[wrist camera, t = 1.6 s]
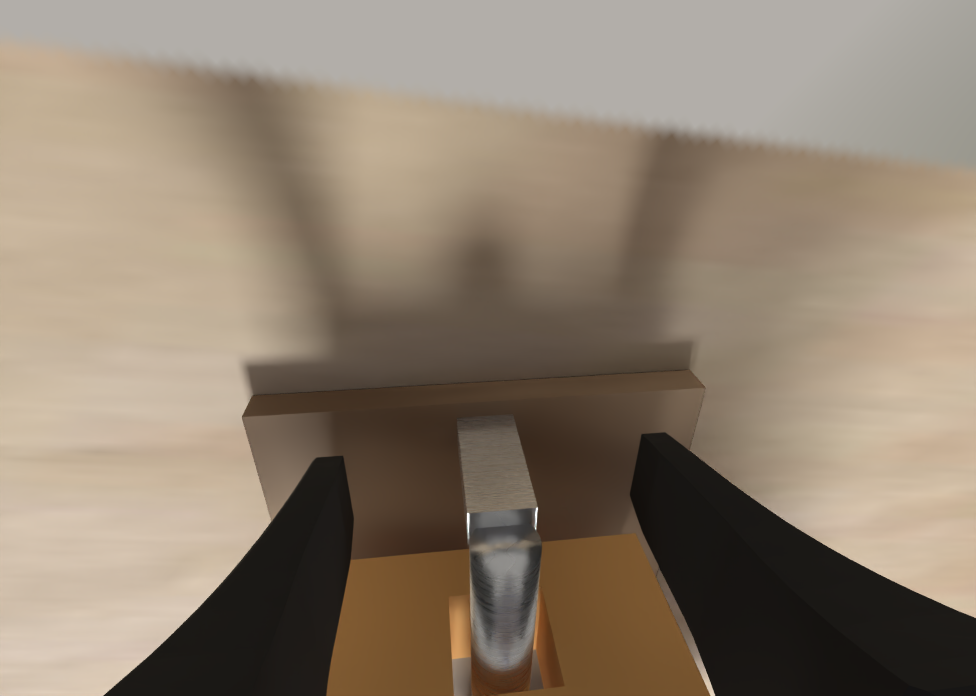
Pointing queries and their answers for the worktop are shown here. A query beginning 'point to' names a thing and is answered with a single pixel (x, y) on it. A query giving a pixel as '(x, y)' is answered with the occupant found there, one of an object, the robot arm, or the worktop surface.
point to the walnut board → (435, 459)
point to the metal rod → (499, 553)
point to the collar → (558, 628)
